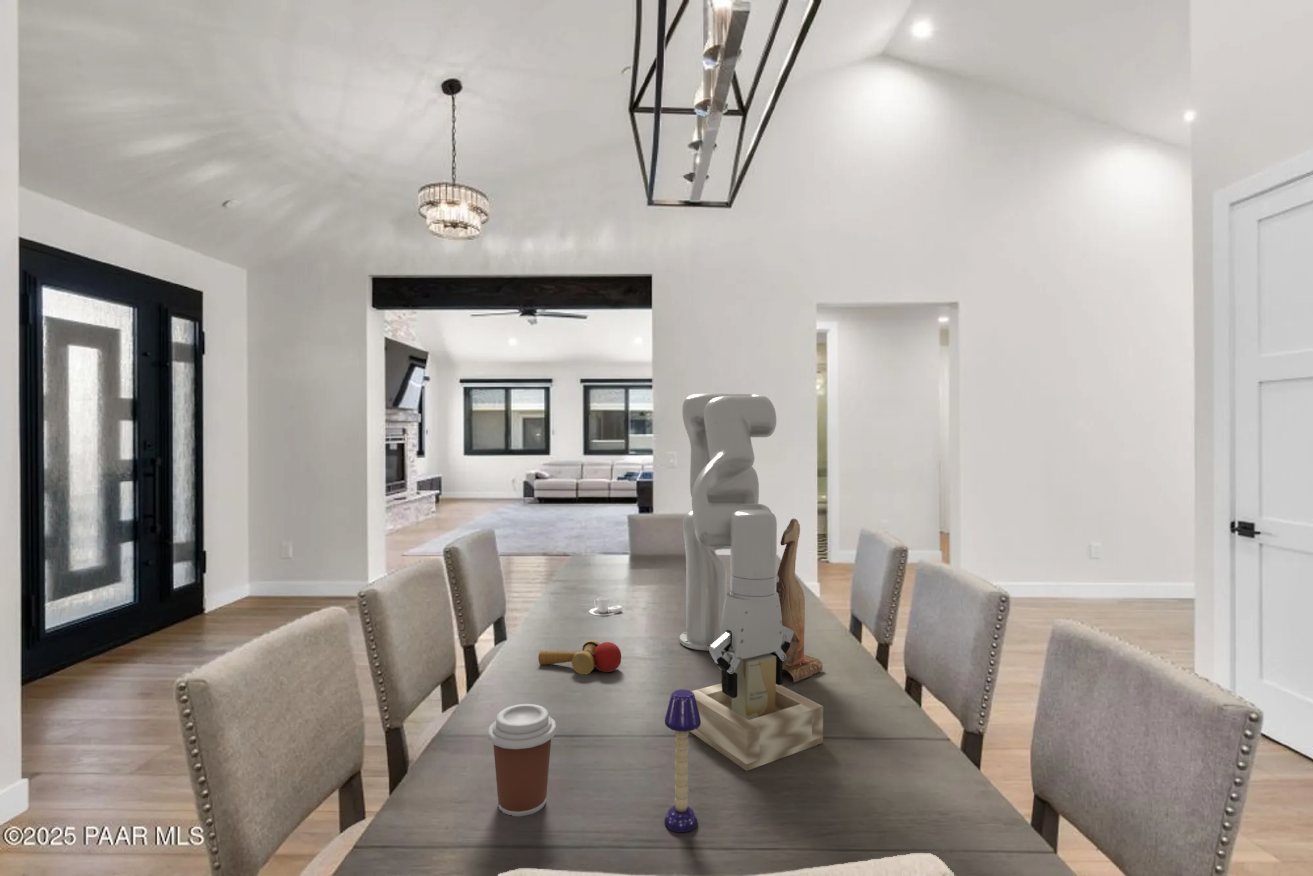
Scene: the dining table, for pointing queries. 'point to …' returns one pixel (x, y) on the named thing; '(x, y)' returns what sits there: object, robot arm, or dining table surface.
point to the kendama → (586, 657)
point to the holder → (758, 727)
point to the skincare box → (755, 687)
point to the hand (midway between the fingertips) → (752, 688)
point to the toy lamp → (682, 757)
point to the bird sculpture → (794, 608)
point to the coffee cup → (522, 757)
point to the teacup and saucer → (605, 607)
